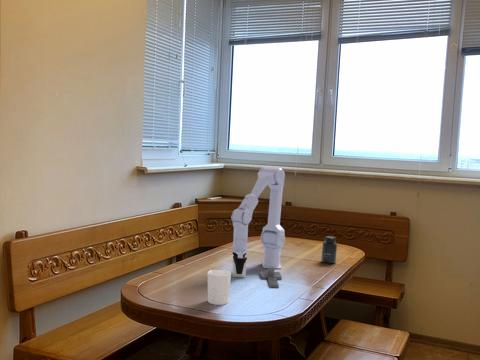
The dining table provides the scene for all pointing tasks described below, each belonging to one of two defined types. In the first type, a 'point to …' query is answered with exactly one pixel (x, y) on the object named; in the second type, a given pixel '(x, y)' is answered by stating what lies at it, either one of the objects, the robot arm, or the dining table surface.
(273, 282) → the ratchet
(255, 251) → the dining table surface
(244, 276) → the brushed metal cube
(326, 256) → the supplement bottle
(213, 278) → the white cup
